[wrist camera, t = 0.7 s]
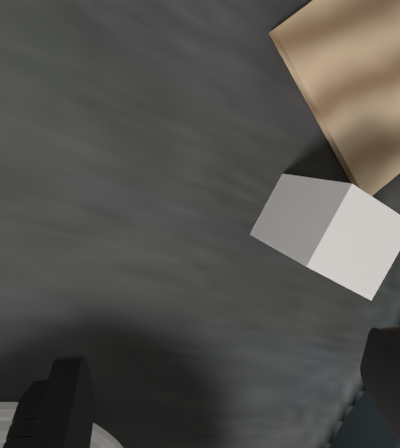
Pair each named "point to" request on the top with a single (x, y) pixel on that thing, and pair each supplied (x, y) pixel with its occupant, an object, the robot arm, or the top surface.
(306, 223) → the light grey rectangular block
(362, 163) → the board
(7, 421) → the plate stack
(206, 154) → the top surface
